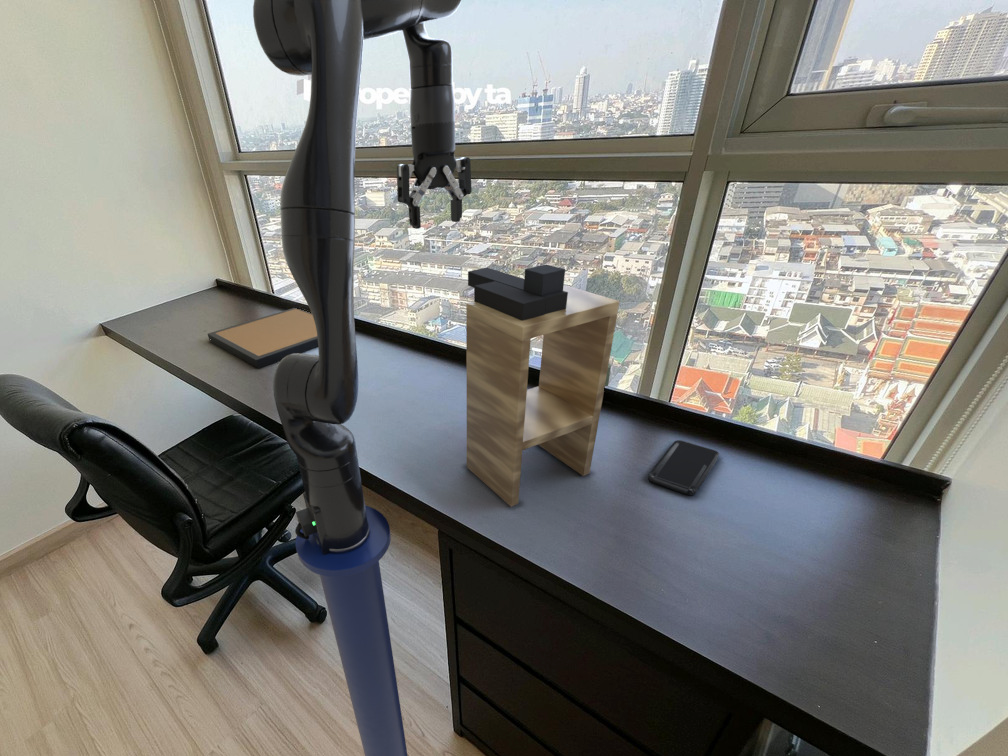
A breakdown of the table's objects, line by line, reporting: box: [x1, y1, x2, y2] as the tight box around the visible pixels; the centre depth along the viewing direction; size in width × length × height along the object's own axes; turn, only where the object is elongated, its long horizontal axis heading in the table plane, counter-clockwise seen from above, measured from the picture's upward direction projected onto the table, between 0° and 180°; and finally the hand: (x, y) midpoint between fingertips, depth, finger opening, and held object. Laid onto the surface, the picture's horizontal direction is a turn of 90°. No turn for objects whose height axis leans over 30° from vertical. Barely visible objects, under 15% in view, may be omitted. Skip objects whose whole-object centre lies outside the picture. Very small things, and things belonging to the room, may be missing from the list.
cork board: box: [207, 307, 318, 370], centre depth 161 cm, size 36×3×35 cm
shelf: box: [465, 284, 620, 507], centre depth 82 cm, size 18×14×32 cm
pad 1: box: [467, 264, 568, 314], centre depth 75 cm, size 4×20×5 cm, turn 27°
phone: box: [648, 439, 720, 496], centre depth 88 cm, size 8×1×15 cm
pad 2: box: [473, 281, 546, 321], centre depth 72 cm, size 4×12×2 cm, turn 27°
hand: (436, 224), depth 90 cm, fingers open, 8 cm apart
